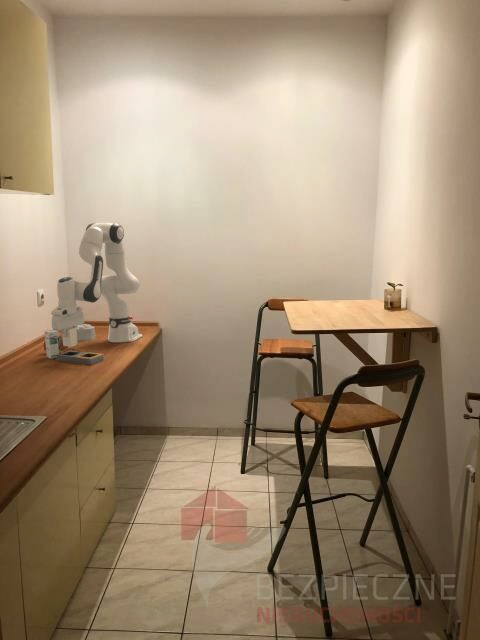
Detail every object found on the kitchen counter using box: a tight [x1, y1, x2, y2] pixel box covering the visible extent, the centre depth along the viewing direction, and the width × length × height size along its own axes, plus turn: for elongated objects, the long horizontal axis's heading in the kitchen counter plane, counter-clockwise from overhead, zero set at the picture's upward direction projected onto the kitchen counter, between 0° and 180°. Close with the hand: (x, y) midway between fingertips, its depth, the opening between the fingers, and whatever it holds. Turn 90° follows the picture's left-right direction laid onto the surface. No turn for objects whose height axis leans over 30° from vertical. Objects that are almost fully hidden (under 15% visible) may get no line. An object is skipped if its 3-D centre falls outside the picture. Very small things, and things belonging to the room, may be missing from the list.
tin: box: [43, 335, 69, 352], centre depth 295 cm, size 15×3×8 cm, turn 143°
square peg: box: [61, 327, 78, 348], centre depth 277 cm, size 5×5×9 cm
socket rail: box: [56, 350, 105, 366], centre depth 276 cm, size 10×22×3 cm, turn 66°
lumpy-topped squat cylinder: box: [76, 323, 96, 342], centre depth 325 cm, size 10×13×9 cm
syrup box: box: [43, 329, 62, 359], centre depth 282 cm, size 6×6×14 cm
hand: (69, 335), depth 276 cm, fingers closed on square peg, 5 cm apart
